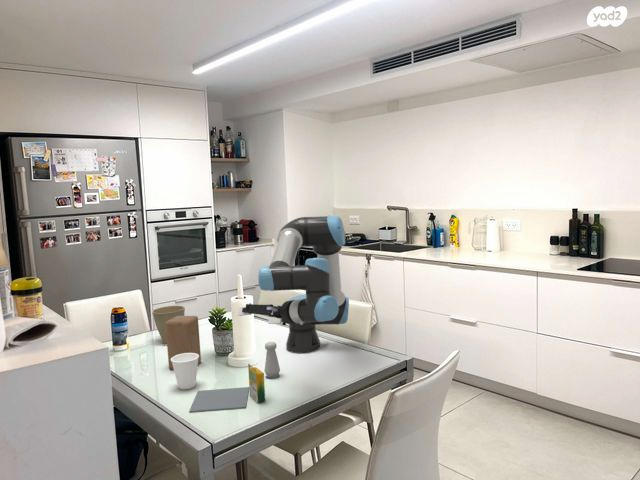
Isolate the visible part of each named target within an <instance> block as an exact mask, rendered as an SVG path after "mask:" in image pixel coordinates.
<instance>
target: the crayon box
mask: <svg viewBox="0 0 640 480" xmlns="http://www.w3.org/2000/svg"><path fill="white" fill-rule="evenodd" d="M247 368H248V384H249V385H248V387H249V397H251V398H252V400H254V401H255V402H256V404H259V403H264V402H265V401H266V391H265V389H266V388H265V387H266V386H265V372H263V371H261V370H260V369H259V368H258V367H256V366H255V367H254V366H253V365H251V364H250V363H247Z"/></svg>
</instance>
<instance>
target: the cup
mask: <svg viewBox="0 0 640 480" xmlns="http://www.w3.org/2000/svg"><path fill="white" fill-rule="evenodd" d="M198 357H199V355H198V354H196V353H183V354H179V355H176V356H174V357H172V358H171V361H172V364H173V368H174V369H173V373H174V375H175V379H176V380H175V381H176V383H177V387H178V388H179V389H180V390H190V389H192V388H194V387H195V386H196V384H197V376H198V365H199V364H198Z"/></svg>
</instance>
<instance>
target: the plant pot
mask: <svg viewBox="0 0 640 480" xmlns="http://www.w3.org/2000/svg"><path fill="white" fill-rule="evenodd" d="M185 308H186V307H185V306H183V305H167V306H161V307H158V308H155V309H153V310H152V311H151V312H152V317H153V320H154V324H155V326H156V329H157V331H158V334H159V337H160V338H161V341H162V343H164V344H166V345H167V337H166V321H168V320H170V319H172V318H174V317H176V316H185Z"/></svg>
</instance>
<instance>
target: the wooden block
mask: <svg viewBox="0 0 640 480" xmlns="http://www.w3.org/2000/svg"><path fill="white" fill-rule="evenodd" d="M166 337H167V344H166V346H167V347H166V348H167V357H168V358H167V359H168V368H169V370H174V368H173V364H172V361H171V358H172V357H174V356H176V355H179V354H183V353H196V354H198V355H199V357H198V365H199V364H200V363H201V361H202V357H201V356H202V354H201V343H200V327H199V317H198V316H197V315H184V316H176V317H174V318H172V319H170V320H168V321H166Z"/></svg>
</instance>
